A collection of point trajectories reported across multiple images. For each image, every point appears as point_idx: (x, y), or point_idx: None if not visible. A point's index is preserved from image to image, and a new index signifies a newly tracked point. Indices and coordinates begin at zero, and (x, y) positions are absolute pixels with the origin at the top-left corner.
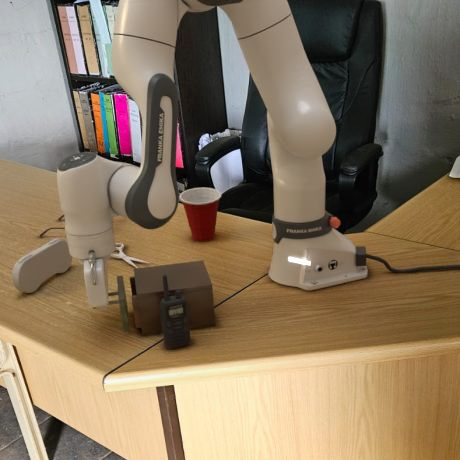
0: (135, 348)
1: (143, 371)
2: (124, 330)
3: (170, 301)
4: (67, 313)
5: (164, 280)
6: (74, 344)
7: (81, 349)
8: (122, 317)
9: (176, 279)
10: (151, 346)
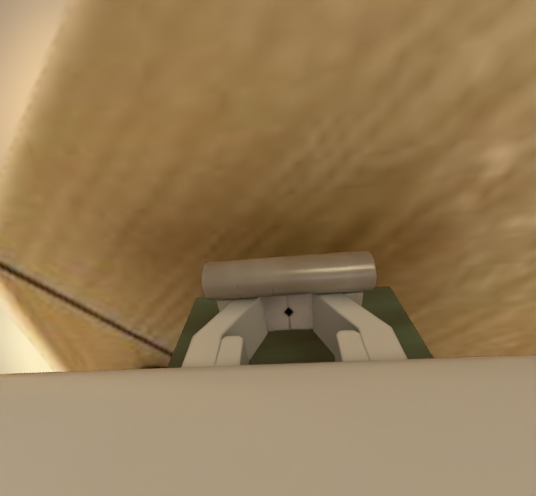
0: (136, 313)
1: (32, 329)
2: (194, 306)
3: None
4: (496, 8)
5: None
6: (142, 116)
7: (106, 155)
8: (177, 348)
9: None
10: (150, 342)
